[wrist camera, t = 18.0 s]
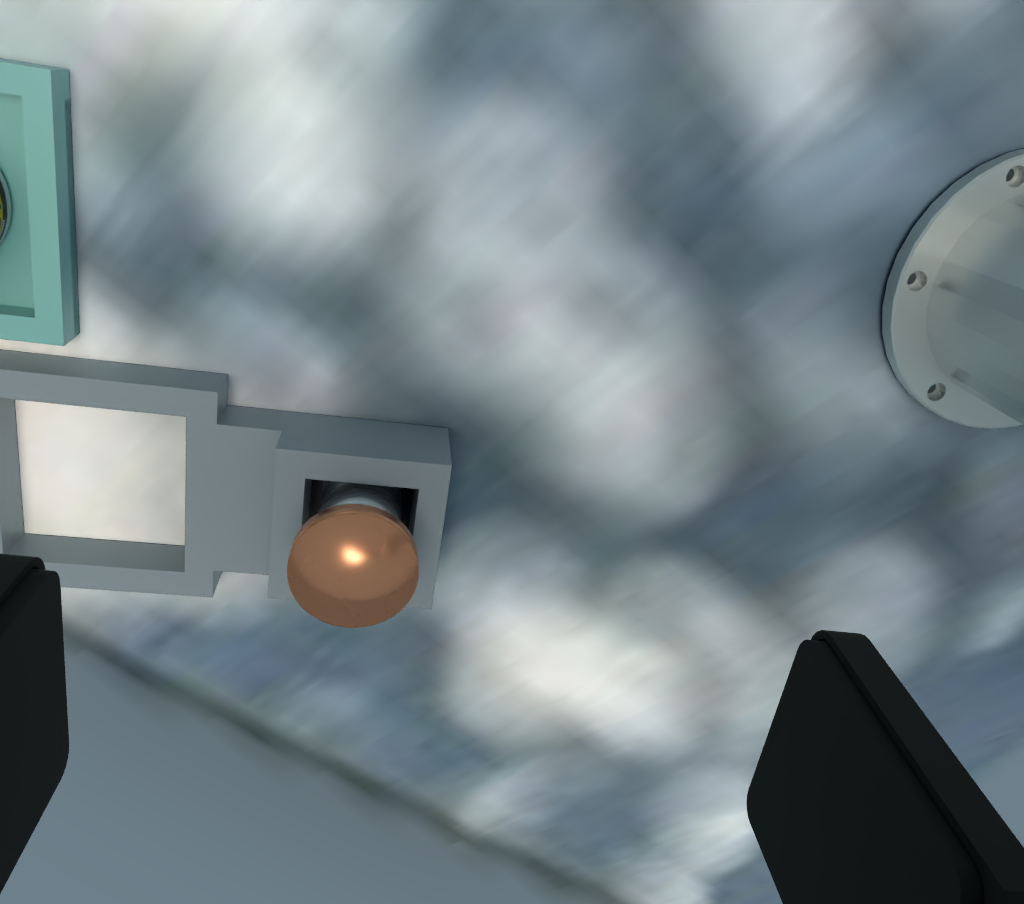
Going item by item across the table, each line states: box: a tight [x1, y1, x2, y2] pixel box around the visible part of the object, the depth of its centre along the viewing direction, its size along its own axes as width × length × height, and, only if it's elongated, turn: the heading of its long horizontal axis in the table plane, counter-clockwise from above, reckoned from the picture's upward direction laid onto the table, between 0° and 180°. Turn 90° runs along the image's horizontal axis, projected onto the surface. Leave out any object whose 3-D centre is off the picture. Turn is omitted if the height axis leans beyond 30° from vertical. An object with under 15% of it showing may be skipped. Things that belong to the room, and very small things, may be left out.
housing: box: [0, 350, 452, 609], centre depth 37 cm, size 19×10×4 cm, turn 81°
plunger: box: [287, 480, 419, 628], centre depth 37 cm, size 5×5×7 cm
